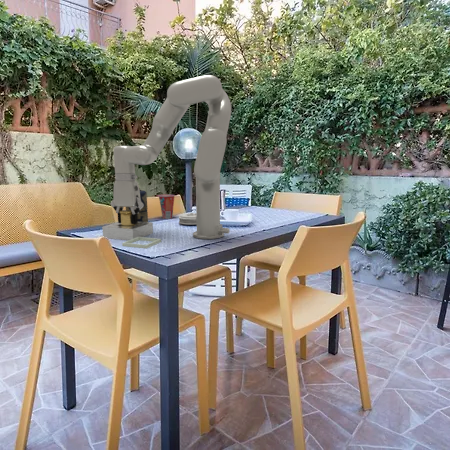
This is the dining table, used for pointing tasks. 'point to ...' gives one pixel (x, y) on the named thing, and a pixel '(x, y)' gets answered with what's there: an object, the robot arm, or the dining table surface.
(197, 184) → the robot arm
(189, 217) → the lid
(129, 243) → the green square frame
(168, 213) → the cup
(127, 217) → the gold metal cylinder
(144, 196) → the canister
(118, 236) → the housing
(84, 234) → the dining table surface
